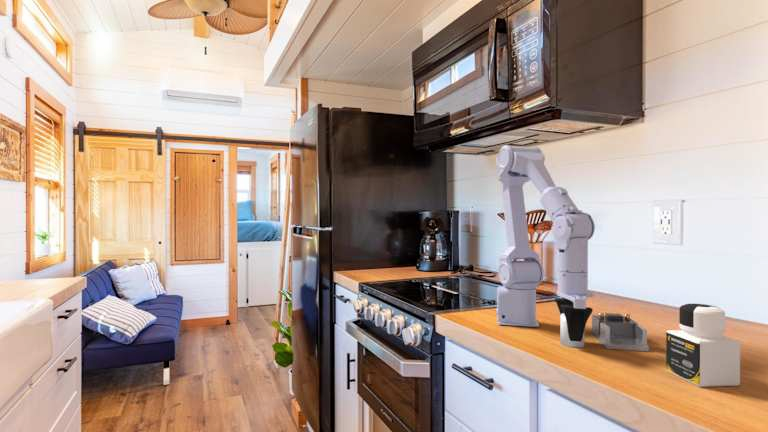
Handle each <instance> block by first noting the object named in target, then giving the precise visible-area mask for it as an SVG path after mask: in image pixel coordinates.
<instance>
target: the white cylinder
mask: <svg viewBox="0 0 768 432" xmlns="http://www.w3.org/2000/svg"><path fill="white" fill-rule="evenodd" d="M559 315H560V316H559V317H560V323H559V324H560V327H559V328H560V330H559V332H560V334H559V335H560V336H559V337H560V339H559V340H560V341H559V343H560V344H561V345H562V346H564V347H568V348H573V349H576V348H577V349H579V348H581V349H582V348H584V347H585V329H586V328H585V329H584V334H583V338H582V341H581V342H579V341H570V339H569V335H568V328H567V322H566V318H565V315H564V313H562V314H560V313H559Z"/></svg>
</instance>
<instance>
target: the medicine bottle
mask: <svg viewBox="0 0 768 432" xmlns="http://www.w3.org/2000/svg"><path fill="white" fill-rule="evenodd" d="M665 334H666V335H665V336H666V337H665V338H666V339H665V345H666V346H665V352H666V353H665V355H666V356H665V357H666V358H665V370H666V372H668V373H670V374H672V375H674V376H676V377H678V378H680V379H681V380H685V381H686V382H688V383H691V384H692V385H695V386H696V387H699V388H702V387H704V388H706V387H710V388H711V387H727V386H728V387H732V386H733V387H735V386H736V387H738V386H740V384H741V342H740V340H738V339H735V338H732V337H729V336H725V334H726V312H725V311H724V310H723V309H722V308H720V307H718V306H716V305H712V304H711V305H710V304H704V303H703V304H702V303H686V304H683V305H681V306H679V329H668V330H666V333H665Z"/></svg>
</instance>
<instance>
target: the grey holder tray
mask: <svg viewBox="0 0 768 432" xmlns="http://www.w3.org/2000/svg"><path fill="white" fill-rule="evenodd" d="M591 333H592V334H593V336H594V337H595V338H596V339H598V341H599V342H600V343H601V344H602V345H603V346H604V348H606V349H609V350H620V351H621V350H623V351H625V350H626V351H637V352H638V351H639V352H640V351H641V352H649V351H650V346H649V345H648V330H647V328H645V327H644V326H643V325H640V324H639V323H638V322H637V321H635V320H633V319H632V318H631V315H630V314H629V313H624V316H623V315H622V314H621V313H610V312H608V313H607V312H606V313H605V312H598V315H597V314H594V315H593V314H591Z"/></svg>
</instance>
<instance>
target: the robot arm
mask: <svg viewBox="0 0 768 432" xmlns="http://www.w3.org/2000/svg"><path fill="white" fill-rule="evenodd" d="M545 158H546V156H545V154H544V153H543V151H542V150H541V148H540V147H538V146H514V145H508V144H505V145H503V146H502V147H501V148H500V149H499V151H498V154H497V156H496V159H495V164H496V171H497V178H498V181H499V182H500V188H501V189H500V190H501V197H502V207H503V215H504V226H505V232H506V233H505V234H506V242H507V243H506V244H507V248H506V250H505V251H504V252H503V253H501V254H500V255H499V257H498V270H497V276H498V279H499V282H500V283H501V284H502V286H497V296H496V297H497V300H496V302H497V306H496V309H495V313H496V315H495V316H496V318H497V319H496V320H497V325H500V326H514V327H515V326H517V327H532V328H533V327H536V328H539V327H540V324H539V322H538V321H537V316H536V315H537V309H536V308H537V300H536V299H537V289H536V288H540V287H539V285H540V284H541V283H542V282H543V280H544V276H545V272H544V266H543V265H542V263H541V259H540V254H538V252H536V251H535V250H534V249H533V248H532V247H531V246H530V239H529V230H528V222H527V213H526V205H525V196H524V189H523V187H524V185H525V184H526V183H527V182H529V181H531V182H532V184H533V185H534V187H536V189H537V190H538V191H539V193H540V194H541V196H540V200H539V202H540V204H541V205H542V207H543V209H544V210H545V211H546V214H547V215H548V217H549V219H550V220H551V222H552V226H550V227H551V229H550V230H551V233H552V236H553V239H554V242H555V243H554V245H555V248H556V249H557V290H556V296H557V297H558V298H557V297H555V298H554V301H555V303H556V306H557V307H558V311H559V315H560V314H562V313H564V315H565V318H566V322H567V328H568V335H569V339H570V341H579V342H581V341H582V338H583V334H584V335H585V332H584V329H586V325H587V323H588V320H589V319H590V316H592V313H593V308H592V307H587V306H586V304H587V300H588V298H594V297H595V293H594V292H592V291H588V288H589V287H588V282H589V280H588V279H589V275H588V274H589V273H588V272H589V263H588V262H589V256H588V255H589V251H588V250H589V247H588V245H589V240H591V238H592V237H593V236H594V234H595V230H596V229H595V227H596V225H595V222H594V219H593V218H592V215H591V214H589V213H587V212H583V210H580V209H579V208H578V207H577V206H576V204H575V203H574V201H573V199H572V198H571V197H570V196H569V192H568V190H567V188H564V187H561V186H557V185H556V184H555V182H554V180H553V178H552V177H551V175H550V172H549V171H548V169H547V168H546V165H545V160H546V159H545Z"/></svg>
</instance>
